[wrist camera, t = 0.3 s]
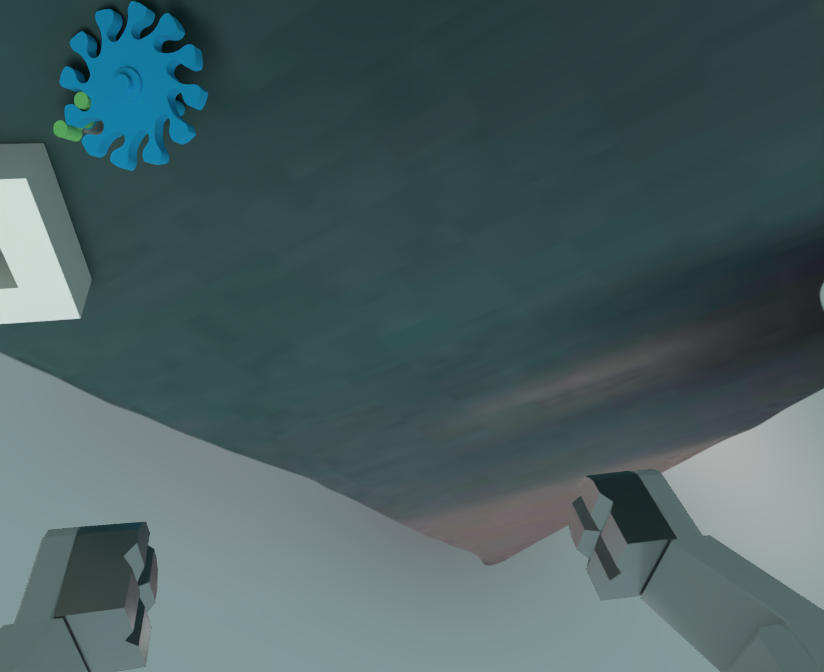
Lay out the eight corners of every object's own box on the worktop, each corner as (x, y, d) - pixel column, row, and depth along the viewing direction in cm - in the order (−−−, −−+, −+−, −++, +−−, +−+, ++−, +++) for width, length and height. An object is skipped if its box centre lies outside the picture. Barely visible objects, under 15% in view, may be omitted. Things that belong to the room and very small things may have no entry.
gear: (162, -33, 36) (217, 128, 36) (216, 10, 42) (263, 150, 42) (17, 46, 39) (69, 196, 39) (86, 77, 45) (131, 208, 45)
